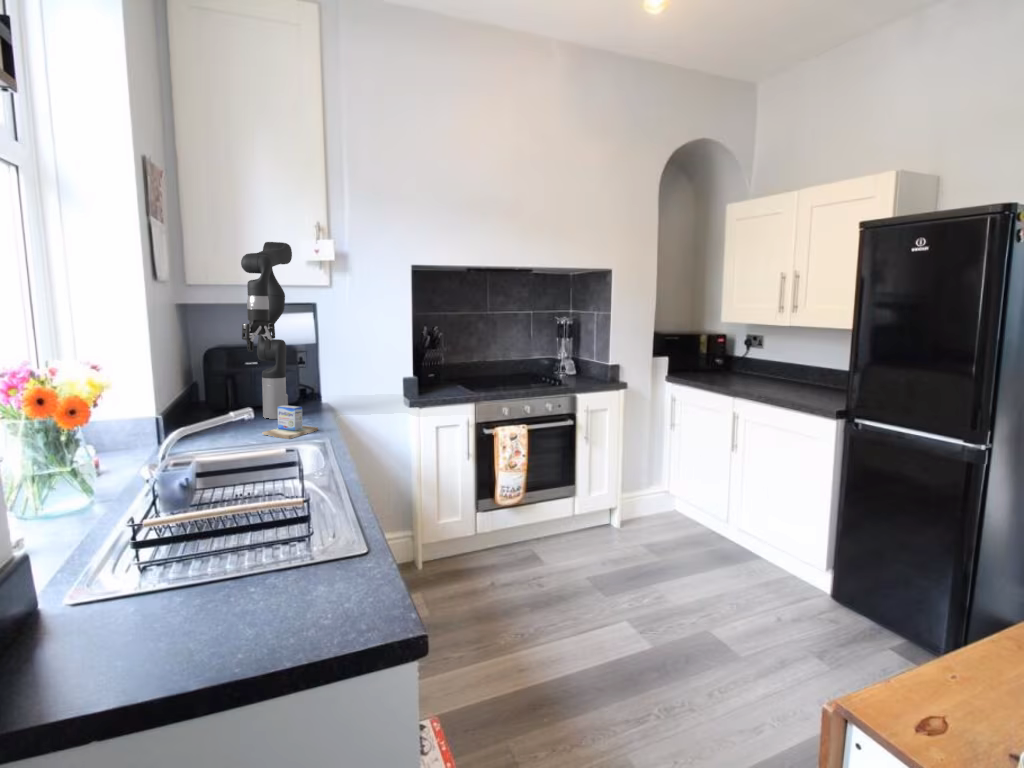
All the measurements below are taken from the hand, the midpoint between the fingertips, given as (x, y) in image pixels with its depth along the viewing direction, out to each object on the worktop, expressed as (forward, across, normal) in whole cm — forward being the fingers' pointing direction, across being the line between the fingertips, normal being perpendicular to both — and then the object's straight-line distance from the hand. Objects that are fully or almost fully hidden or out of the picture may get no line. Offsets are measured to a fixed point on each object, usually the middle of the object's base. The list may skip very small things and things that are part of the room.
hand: (259, 350), depth 213 cm
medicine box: (+29, +2, +16) cm, 33 cm away
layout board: (+30, +2, +16) cm, 34 cm away
